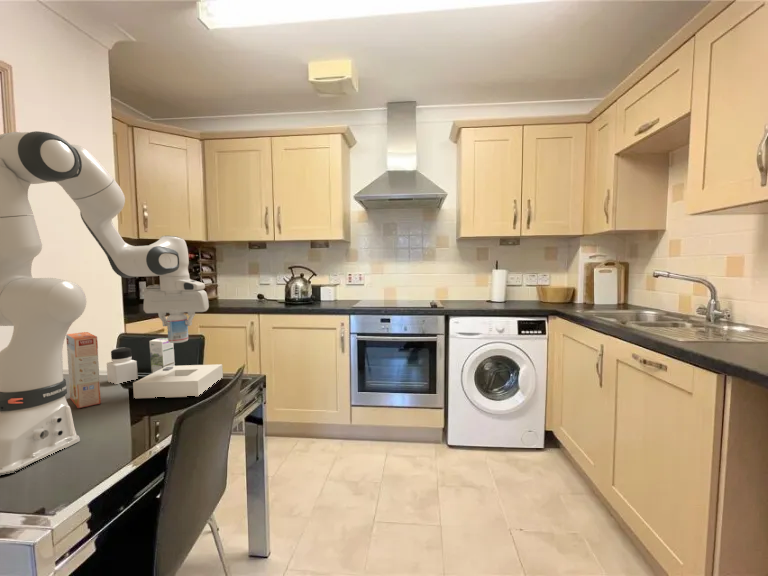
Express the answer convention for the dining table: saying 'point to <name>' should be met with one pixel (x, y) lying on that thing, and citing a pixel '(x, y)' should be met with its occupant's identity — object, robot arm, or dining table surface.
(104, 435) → the dining table surface
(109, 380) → the medicine bottle
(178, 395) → the socket block
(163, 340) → the syrup box
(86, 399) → the cracker box
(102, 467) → the dining table surface
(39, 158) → the robot arm
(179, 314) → the pill bottle
